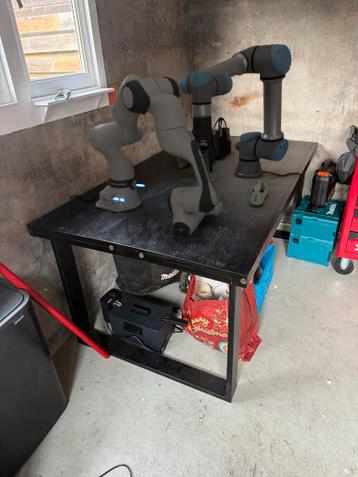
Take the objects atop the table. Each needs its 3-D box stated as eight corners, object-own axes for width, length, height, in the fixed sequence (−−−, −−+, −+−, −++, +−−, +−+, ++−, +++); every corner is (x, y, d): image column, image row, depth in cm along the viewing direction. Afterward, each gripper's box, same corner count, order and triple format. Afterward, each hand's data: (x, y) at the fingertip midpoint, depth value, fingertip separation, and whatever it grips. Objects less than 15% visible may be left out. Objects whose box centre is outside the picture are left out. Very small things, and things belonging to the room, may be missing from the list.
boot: (194, 157, 223) (193, 127, 213) (188, 169, 203) (187, 135, 193) (182, 157, 225) (180, 127, 215) (174, 168, 205) (172, 136, 194)
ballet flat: (269, 188, 169) (270, 173, 165) (265, 208, 149) (266, 191, 145) (252, 187, 171) (253, 172, 167) (246, 206, 151) (247, 190, 147)
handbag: (219, 160, 214) (219, 120, 202) (206, 159, 218) (206, 119, 206) (232, 152, 229) (233, 114, 216) (220, 151, 233) (220, 114, 221)
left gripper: (219, 207, 130) (227, 194, 141) (171, 202, 137) (182, 190, 148) (218, 221, 133) (226, 207, 144) (172, 216, 140) (183, 203, 151)
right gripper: (221, 111, 133) (221, 167, 144) (175, 116, 129) (178, 173, 141) (228, 114, 126) (227, 172, 138) (180, 119, 123) (183, 178, 134)
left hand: (203, 198), depth 146 cm, fingers closed on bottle, 5 cm apart
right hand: (203, 172), depth 139 cm, fingers open, 6 cm apart
